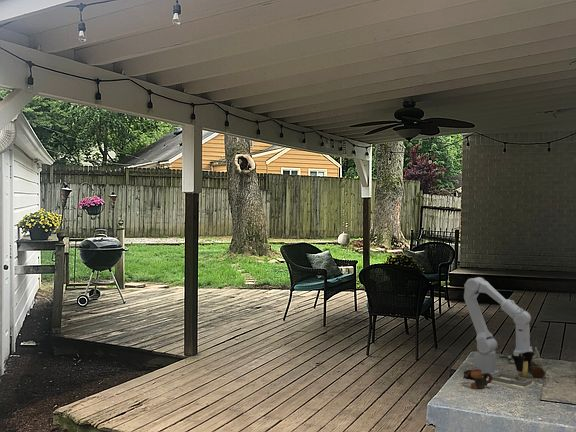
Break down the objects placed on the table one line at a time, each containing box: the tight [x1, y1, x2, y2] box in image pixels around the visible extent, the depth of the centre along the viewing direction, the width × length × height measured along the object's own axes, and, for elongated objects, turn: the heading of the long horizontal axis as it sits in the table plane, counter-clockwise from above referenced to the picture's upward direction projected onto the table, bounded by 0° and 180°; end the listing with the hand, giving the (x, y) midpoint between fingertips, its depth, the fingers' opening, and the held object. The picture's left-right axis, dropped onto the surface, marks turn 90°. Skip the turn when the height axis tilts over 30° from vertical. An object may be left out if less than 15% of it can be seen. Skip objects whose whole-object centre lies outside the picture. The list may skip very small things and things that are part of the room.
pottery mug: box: [462, 369, 493, 390], centre depth 229 cm, size 12×10×8 cm
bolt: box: [528, 362, 546, 379], centre depth 248 cm, size 6×5×15 cm
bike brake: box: [499, 346, 543, 365], centre depth 270 cm, size 14×7×20 cm
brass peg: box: [517, 360, 529, 379], centre depth 240 cm, size 4×4×8 cm
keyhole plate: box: [490, 372, 535, 391], centre depth 233 cm, size 15×11×2 cm
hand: (523, 369), depth 240 cm, fingers open, 7 cm apart
